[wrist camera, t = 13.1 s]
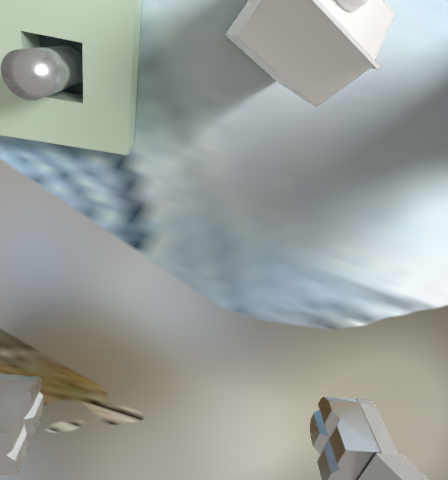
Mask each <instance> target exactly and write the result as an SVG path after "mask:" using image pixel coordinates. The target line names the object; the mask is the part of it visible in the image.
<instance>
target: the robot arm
mask: <svg viewBox="0 0 448 480" xmlns="http://www.w3.org/2000/svg"><path fill="white" fill-rule="evenodd" d="M41 387H42V382H41V377H32V376H21V375H10V374H1V373H0V475H18V473H19V471H20V468H21V466H22V463H23V461H24V459H25V456H26V454H27V452H28V449H29V446H28V438H29V437H30V436H31V435H33V434H34V433H35V432H36V430H37V427H38V425H39V423H40V420H41V415H42V412H43V405H44V398H43V395H42V394H41V393H40V392H39V391H40V389H41ZM319 408H320V410H318V411H317V412H315V413H314V414H313V416H312V418H311V423H310V434H311V440H312V444H313V446H314V447H315V449H316V450H317V451H318V452H319V453H320V456H319V458H318V461H317V462H318V466H319V470H320V473H321V477H322V480H429V479H428V478H427V477H426V476H425V475H424V474H423V473H422V472H421V471H420V470H419V469H418V468H417V467H416V466H415V465H414V464H413V463H412V462H410V461H409V460H408V459H407V458H406V457H405V456H404V455H403V454H398V452H397V450H396V448H395V446H394V444H393V442H392V439H391V437H390V435H389V433H388V431H387V429H386V427H385V425H384V423H383V420H382V418H381V416H380V415H379V412H378V410H377V408H376V406H375V404H374V403H373V402H372V401H371V400H362V399H353V398H337V397H323V398H321V400H320V402H319Z"/></svg>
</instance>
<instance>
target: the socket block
mask: <svg viewBox="0 0 448 480" xmlns="http://www.w3.org/2000/svg"><path fill="white" fill-rule="evenodd" d="M141 10H142V0H0V135H2V136H8V137H15V138H21V139H27V140H34V141H40V142H46V143H53V144H59V145H65V146H72V147H78V148H84V149H91V150H97V151H103V152H110V153H116V154H122V155H128V154H129V152H130V151H131V149H132V147H133V146H134V136H135V118H136V100H137V82H138V64H139V46H140V28H141ZM39 34H40V35H45V36H50V37H55V38H60V39H65V40H70V41H75V42H80V43H82V60H83V95H79V94H74V93H68V92H62V91H59V92H56V93H54V94H51V95H49V96H46V97H44V98H41V99H39V100H33V101H31V100H25V99H22V98H20V97H18V96H17V95H15V94H14V93H13V92H12V91H11V90H10V89H9V88H8V87H7V85H6V84H5V82H4V80H3V77H2V74H1V63H2V60H3V58H4V56H5V55H6V54H7V53H9V52H10V51H13V50H17V49H28V48H40V42H39Z"/></svg>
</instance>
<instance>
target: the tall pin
mask: <svg viewBox="0 0 448 480" xmlns="http://www.w3.org/2000/svg"><path fill="white" fill-rule="evenodd" d="M1 74H2V77H3V80H4V82H5V84H6V85H7V87H8V88H9V89H10V90H11V91H12V92H13V93H14V94H15V95H17V96H18V97H20V98H22V99H25V100H31V101H33V100H39V99H41V98H44V97H46V96H49V95H51V94H54V93H56V92H59V91H61V90H63V89H66V88H68V87H71V86H73V85H76V84H78V83H80V82H81V81H82V80H83V60H82V55H81V54H80V52H79V51H77V50H76V49H75V48H73V47H70V46H66V45H62V46H51V47H40V48H28V49H17V50H13V51H10V52H9V53H7V54H6V55H5V56H4V58H3V60H2V63H1Z"/></svg>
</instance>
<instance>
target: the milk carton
mask: <svg viewBox="0 0 448 480" xmlns="http://www.w3.org/2000/svg"><path fill="white" fill-rule="evenodd" d="M393 18H394V13H393V11H392V10H391V9H390V7H389V6H388V5H387V4H386V2H385V1H384V0H248V1H247V3H246V4H245V6H244V7H243V9H242V10H241V12H240V13H239V15H238V16H237V18H236V19H235V20H234V22H233V23H232V25H231V26H230V28H229V29H228V31H227V32H226V36H227V37H228V38H229V39H230V40H231V41H232V42H233V43H234V44H235V45H237V46H238V47H239V48H240V49H241V50H242V51H243V52H244V53H245V54H246V55H248V56H249V57H250V58H251V59H252V60H253V61H254V62H255V63H256V64H258V65H259V66H260V67H261V68H262V69H263V70H264V71H265V72H266V73H267V74H269V75H270V76H271V77H272V78H273V79H274V80H275V81H277V82H278V83H280V84H281V85H283V86H284V87H286V88H288V89H289V90H291V91H292V92H294V93H295V94H297V95H298V96H300V97H301V98H303V99H304V100H306V101H307V102H309V103H311V104H312V105H314V106H315V107H317V106H318V105H320V104H321V103H322V102H324V101H325V100H327V99H328V98H329V97H331V96H332V95H333V94H335V93H336V92H338V91H339V90H340V89H342V88H343V87H345V86H346V85H347V84H349V83H350V82H352V81H353V80H354V79H356V78H357V77H359V76H360V75H361V74H363V73H364V72H366V71H367V70H368V69H370V68H373V69H379V68H380V65H379V64H378V63H377V62H376V61H375V59H376V57H377V55H378V52H379V50H380V48H381V45H382V43H383V41H384V39H385V36H386V34H387V32H388V29H389V27H390V25H391V23H392V20H393Z"/></svg>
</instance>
